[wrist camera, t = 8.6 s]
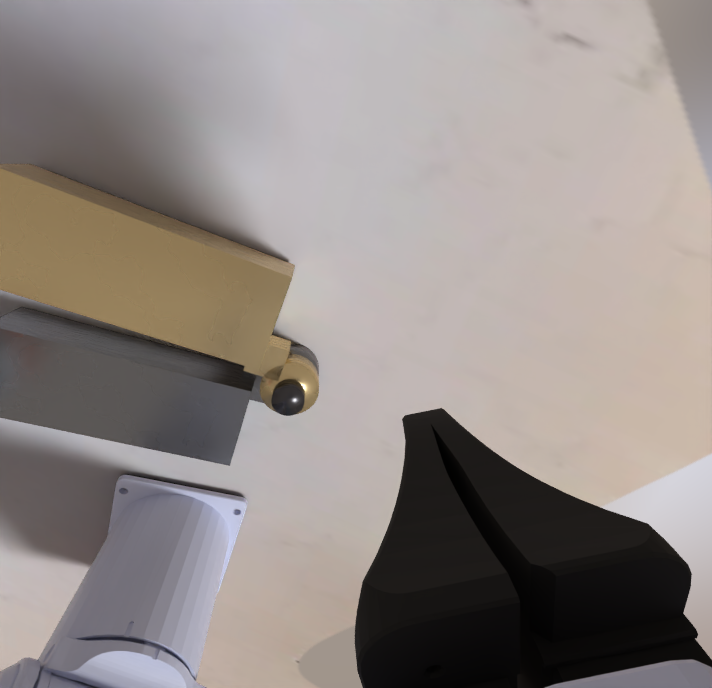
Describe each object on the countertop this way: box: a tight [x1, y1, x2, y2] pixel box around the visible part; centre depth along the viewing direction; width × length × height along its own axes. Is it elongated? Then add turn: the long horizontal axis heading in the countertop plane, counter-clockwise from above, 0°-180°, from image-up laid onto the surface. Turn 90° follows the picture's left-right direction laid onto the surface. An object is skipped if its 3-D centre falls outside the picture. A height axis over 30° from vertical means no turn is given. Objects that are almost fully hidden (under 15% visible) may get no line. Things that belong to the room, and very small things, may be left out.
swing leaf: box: [0, 164, 319, 414], centre depth 19 cm, size 7×15×2 cm, turn 67°
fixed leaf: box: [0, 307, 319, 466], centre depth 20 cm, size 7×15×4 cm, turn 70°
